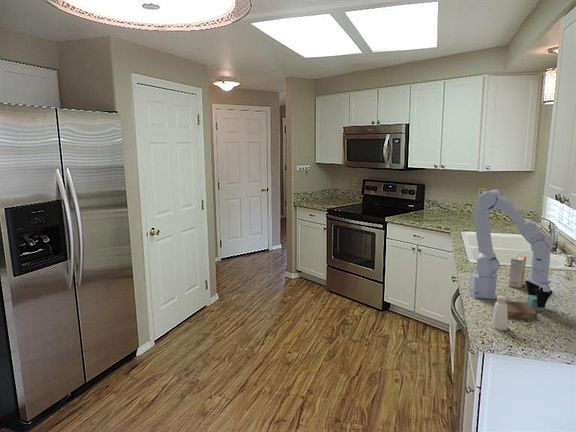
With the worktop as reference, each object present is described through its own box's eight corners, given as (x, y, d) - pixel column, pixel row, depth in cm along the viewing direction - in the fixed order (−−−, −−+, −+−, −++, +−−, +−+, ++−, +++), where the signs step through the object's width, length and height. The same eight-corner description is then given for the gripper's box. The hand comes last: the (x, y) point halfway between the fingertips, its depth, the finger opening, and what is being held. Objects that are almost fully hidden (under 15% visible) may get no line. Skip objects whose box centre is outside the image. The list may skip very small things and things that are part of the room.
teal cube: (531, 310, 152) (532, 299, 152) (527, 305, 157) (528, 294, 156) (544, 311, 152) (546, 300, 151) (539, 306, 156) (540, 295, 155)
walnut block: (506, 317, 146) (507, 311, 146) (497, 307, 156) (498, 300, 155) (536, 319, 144) (537, 313, 144) (525, 308, 154) (526, 302, 153)
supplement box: (512, 281, 184) (514, 254, 181) (524, 283, 181) (526, 255, 178) (508, 286, 177) (510, 258, 175) (520, 289, 174) (523, 260, 172)
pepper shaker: (491, 328, 138) (493, 298, 136) (489, 322, 143) (491, 293, 141) (508, 331, 136) (511, 300, 134) (506, 324, 141) (509, 294, 139)
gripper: (560, 275, 144) (556, 311, 146) (543, 263, 158) (539, 296, 160) (539, 274, 145) (535, 310, 147) (523, 263, 159) (520, 295, 161)
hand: (536, 303), depth 154 cm, fingers open, 7 cm apart
